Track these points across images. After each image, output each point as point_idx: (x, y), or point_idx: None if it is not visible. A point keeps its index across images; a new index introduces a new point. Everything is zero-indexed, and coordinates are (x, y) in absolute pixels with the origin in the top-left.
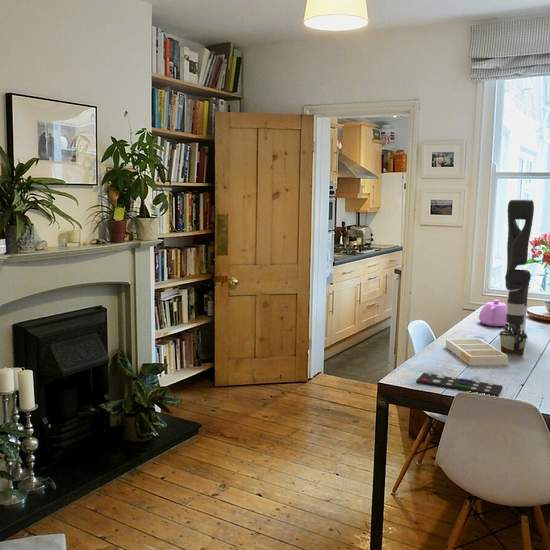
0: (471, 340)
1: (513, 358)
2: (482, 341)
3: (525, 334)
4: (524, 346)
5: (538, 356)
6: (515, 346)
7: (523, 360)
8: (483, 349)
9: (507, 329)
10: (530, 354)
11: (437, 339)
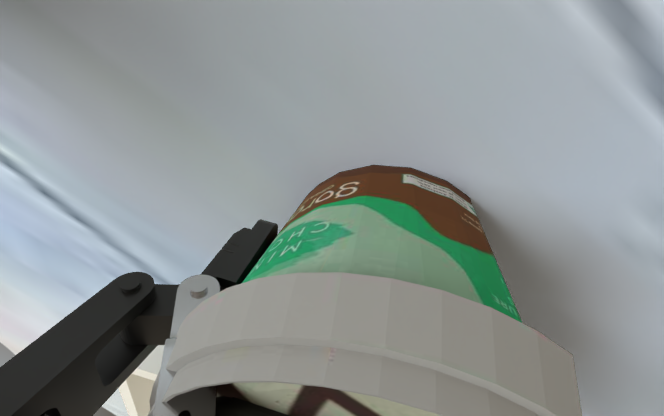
0: (140, 391)
1: None
2: None
3: (457, 399)
4: (495, 267)
5: (587, 9)
6: None
7: (594, 291)
8: None
9: (77, 412)
10: (451, 61)
11: None
